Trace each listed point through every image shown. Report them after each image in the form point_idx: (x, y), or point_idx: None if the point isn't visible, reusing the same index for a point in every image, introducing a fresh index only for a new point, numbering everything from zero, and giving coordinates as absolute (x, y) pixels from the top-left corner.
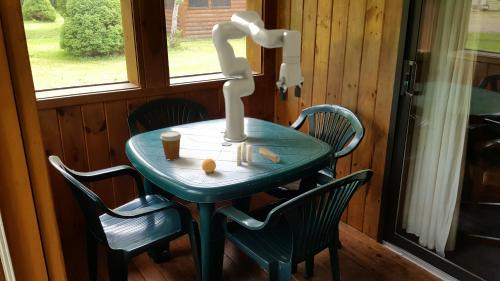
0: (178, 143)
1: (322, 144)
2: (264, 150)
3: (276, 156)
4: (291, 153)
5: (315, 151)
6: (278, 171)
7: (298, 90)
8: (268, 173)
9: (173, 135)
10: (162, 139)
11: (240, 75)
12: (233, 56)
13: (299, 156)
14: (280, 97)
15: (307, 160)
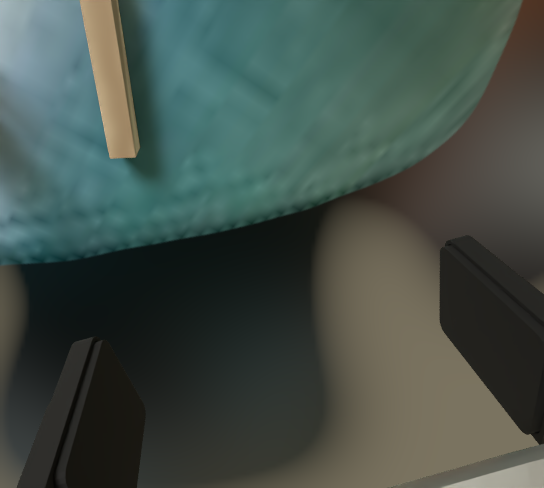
0: None
1: (497, 49)
2: (85, 23)
3: (114, 157)
4: (267, 73)
5: (387, 120)
6: (82, 238)
7: (511, 396)
8: (27, 236)
9: None
10: None
11: None
12: None
13: (275, 135)
14: (45, 415)
15: (274, 196)
